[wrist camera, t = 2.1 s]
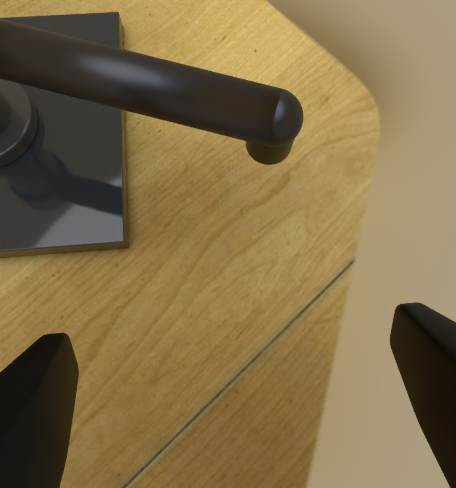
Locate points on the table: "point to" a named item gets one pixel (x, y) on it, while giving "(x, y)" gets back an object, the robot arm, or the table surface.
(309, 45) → the table surface
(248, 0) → the table surface
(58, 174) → the black flat block
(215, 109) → the spout
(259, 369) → the table surface
